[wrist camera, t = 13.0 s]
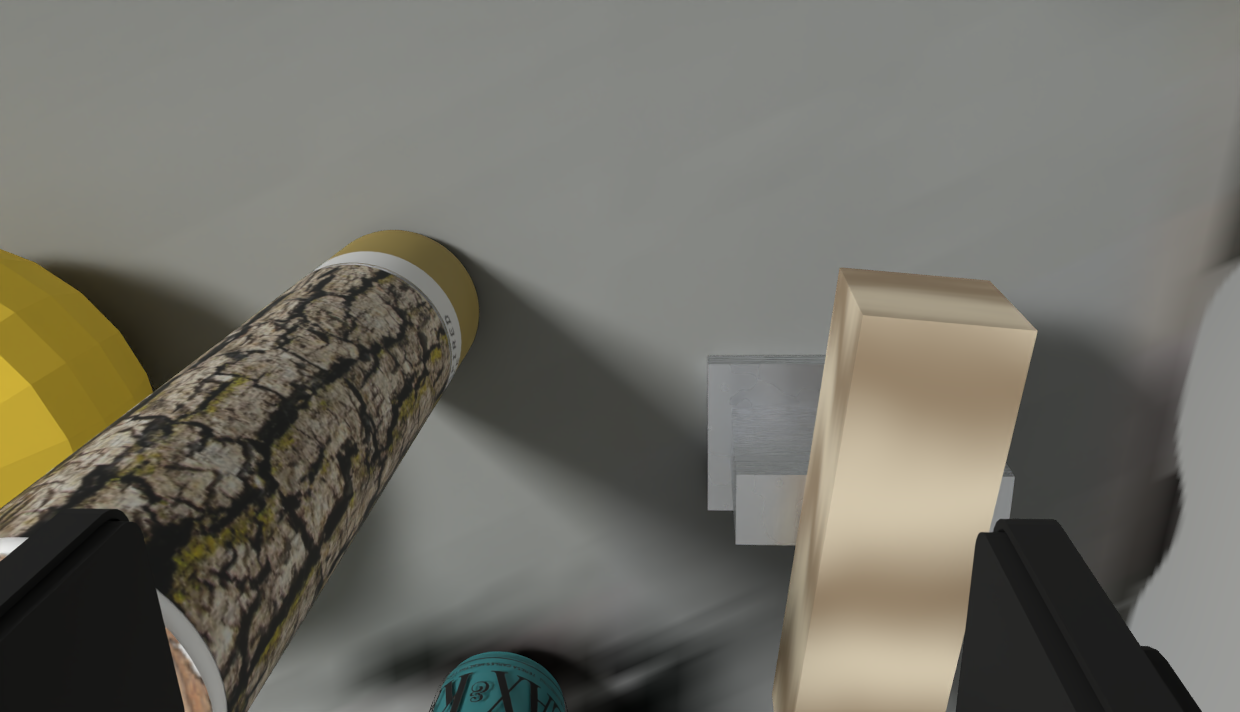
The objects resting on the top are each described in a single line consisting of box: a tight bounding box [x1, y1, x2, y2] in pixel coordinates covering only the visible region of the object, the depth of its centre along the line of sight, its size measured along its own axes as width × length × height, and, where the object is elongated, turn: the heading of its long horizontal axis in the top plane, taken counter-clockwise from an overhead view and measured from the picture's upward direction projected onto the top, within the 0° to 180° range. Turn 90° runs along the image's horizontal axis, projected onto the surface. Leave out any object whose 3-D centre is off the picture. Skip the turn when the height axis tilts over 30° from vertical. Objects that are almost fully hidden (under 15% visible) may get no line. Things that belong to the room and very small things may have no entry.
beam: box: [772, 268, 1038, 712], centre depth 34 cm, size 18×5×5 cm, turn 176°
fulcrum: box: [708, 356, 1015, 545], centre depth 39 cm, size 7×12×7 cm, turn 92°
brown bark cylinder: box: [0, 230, 479, 712], centre depth 30 cm, size 7×7×25 cm
